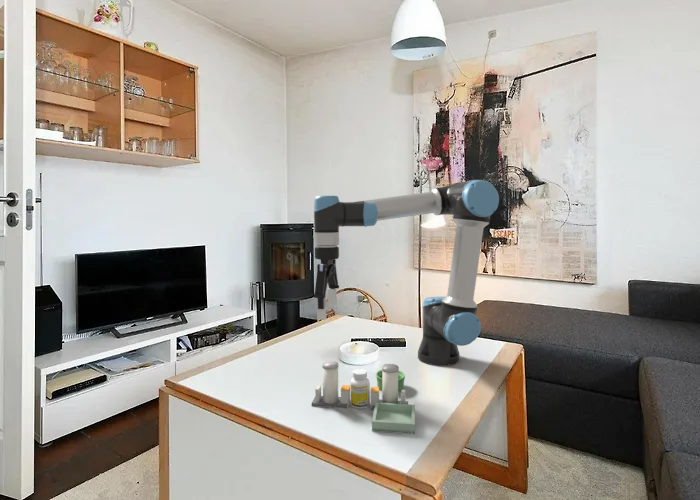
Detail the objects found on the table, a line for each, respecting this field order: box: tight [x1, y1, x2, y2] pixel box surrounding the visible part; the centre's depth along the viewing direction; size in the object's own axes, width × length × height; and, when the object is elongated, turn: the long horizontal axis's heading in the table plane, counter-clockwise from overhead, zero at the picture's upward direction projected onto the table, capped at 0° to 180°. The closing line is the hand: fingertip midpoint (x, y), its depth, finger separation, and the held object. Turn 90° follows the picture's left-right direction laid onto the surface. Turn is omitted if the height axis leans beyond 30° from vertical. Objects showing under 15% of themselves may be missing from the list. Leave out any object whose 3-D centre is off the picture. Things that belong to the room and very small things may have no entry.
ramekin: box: [375, 369, 406, 393], centre depth 132 cm, size 9×9×4 cm
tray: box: [371, 402, 416, 435], centre depth 111 cm, size 11×11×2 cm
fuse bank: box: [311, 360, 409, 411], centre depth 120 cm, size 27×5×12 cm, turn 81°
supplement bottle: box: [349, 368, 371, 410], centre depth 120 cm, size 5×5×10 cm
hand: (327, 313), depth 133 cm, fingers open, 13 cm apart
